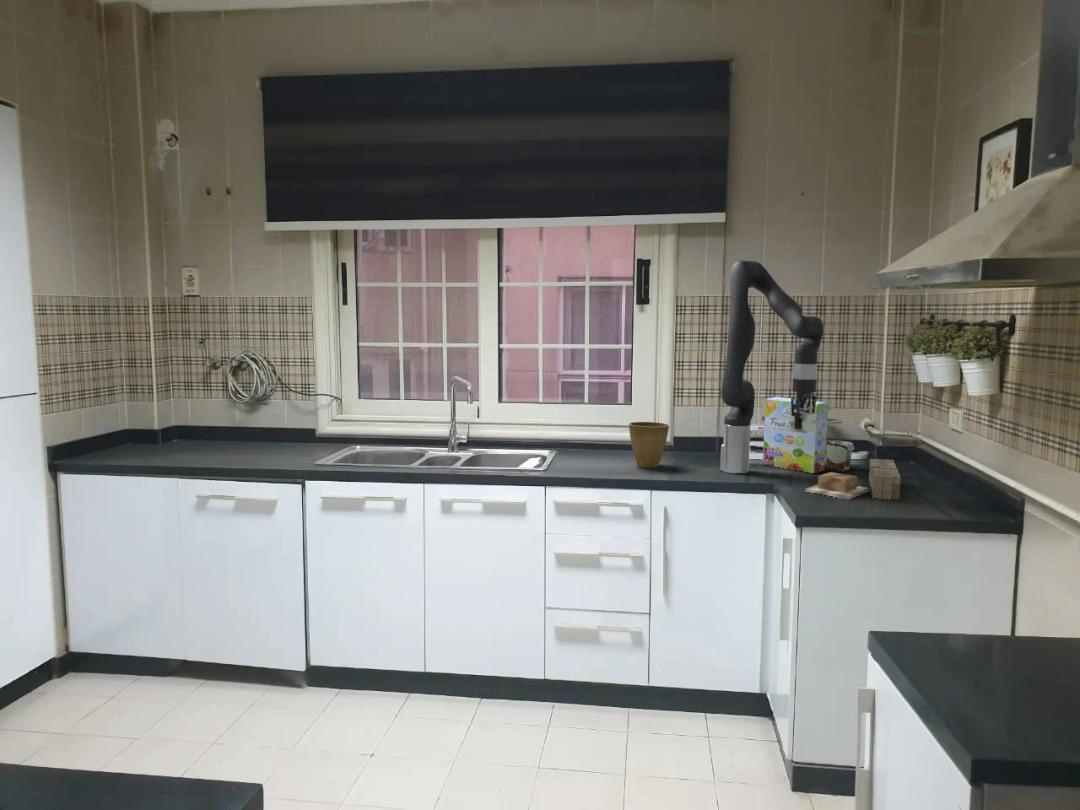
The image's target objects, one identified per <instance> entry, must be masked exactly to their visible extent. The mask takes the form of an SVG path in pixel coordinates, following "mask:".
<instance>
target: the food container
mask: <svg viewBox="0 0 1080 810" xmlns="http://www.w3.org/2000/svg"><path fill="white" fill-rule="evenodd" d="M854 450H855V446H854V444H853V442H850V441H844V440H836V439H835V440H831V439H828V440H827V439H826V452H825V464H826V465H827V466H830V467H833V468H836V469H839V470H838V471H840V470H842V471H841V472H844V471H846V472H849V471H850V468H851V460H852V454H853V451H854ZM836 469H835V470H836ZM848 470H849V471H848Z"/></svg>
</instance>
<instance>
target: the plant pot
mask: <svg viewBox="0 0 1080 810" xmlns="http://www.w3.org/2000/svg"><path fill="white" fill-rule="evenodd" d="M669 428H670V425H669V423H664V422H656V421H633V422H628V429H629V437H630V438H629V439H630V442H631V448H632V452H633V457H634V459H635V462H636V466H637V467H639V468H643V469H655V468H657V467H658V466H659V464H660V463H661V458H662V456H663V453H664V450H665V447H666V443H667V438H668V436H669V435H668V434H669Z"/></svg>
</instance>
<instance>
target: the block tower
mask: <svg viewBox="0 0 1080 810" xmlns="http://www.w3.org/2000/svg"><path fill="white" fill-rule="evenodd" d="M868 473H869V474H868V483H869V482H870V483H869V486H870V487H871V488H870V490H871V489H872V490H871V495H872V499H874V498H878V499H877V500H886V499H888V500H887V501H891V500H898V499H899V500H900V491H901V489H900V488H901V475H900V472H899V470H898V468H897V466H896V464H895V460H894V459H878V458H877V459H876V458H875V459H873V458H870V459H869V472H868Z"/></svg>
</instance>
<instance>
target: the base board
mask: <svg viewBox="0 0 1080 810" xmlns="http://www.w3.org/2000/svg"><path fill="white" fill-rule="evenodd" d="M817 477H818V478H817V484H815V485H812V486H809V487H807V488H805V489H804V490H805V491H804V492H805V493H806V492H811V493H810V494H812V493H818V494H823V495H822V496H824V495H828V496H827V497H829V496H833V497H832V498H835V497H837V498H836V499H841V498H842V499H843V500H851V499H853V498H856V496H857V497H859V496H861V494H862V495H864V494H866V493H868V492H869V487H865V486H858V475H852V474H846V473H845V474H843V473H838V472H831V471H830V472H827V473H823V474H820V475H818V476H817ZM818 494H817V495H818Z"/></svg>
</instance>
